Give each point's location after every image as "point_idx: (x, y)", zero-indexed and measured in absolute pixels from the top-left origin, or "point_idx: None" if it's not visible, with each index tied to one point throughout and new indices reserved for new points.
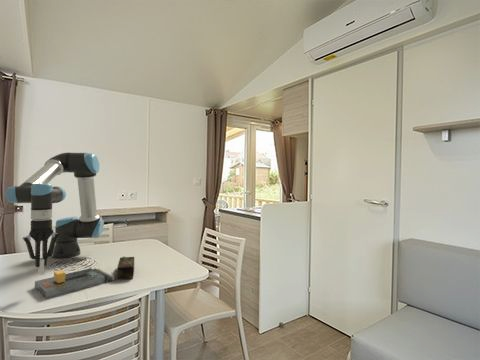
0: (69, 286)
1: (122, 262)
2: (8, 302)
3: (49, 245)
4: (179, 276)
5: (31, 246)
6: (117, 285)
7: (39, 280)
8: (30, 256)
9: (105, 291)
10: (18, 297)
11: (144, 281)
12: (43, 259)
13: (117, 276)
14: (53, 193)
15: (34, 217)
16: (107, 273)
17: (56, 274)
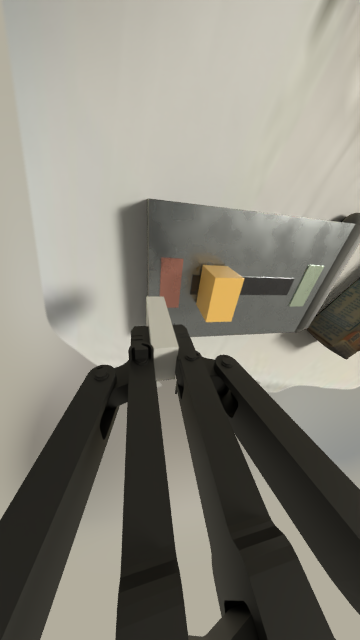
0: (207, 334)
1: None
2: (53, 279)
3: (275, 435)
4: (344, 376)
5: (60, 567)
6: (277, 351)
7: (167, 205)
8: (88, 388)
9: (245, 362)
10: (83, 258)
11: (310, 363)
12: (170, 378)
13: (311, 332)
14: None
15: None
16: (326, 296)
17: (207, 307)
